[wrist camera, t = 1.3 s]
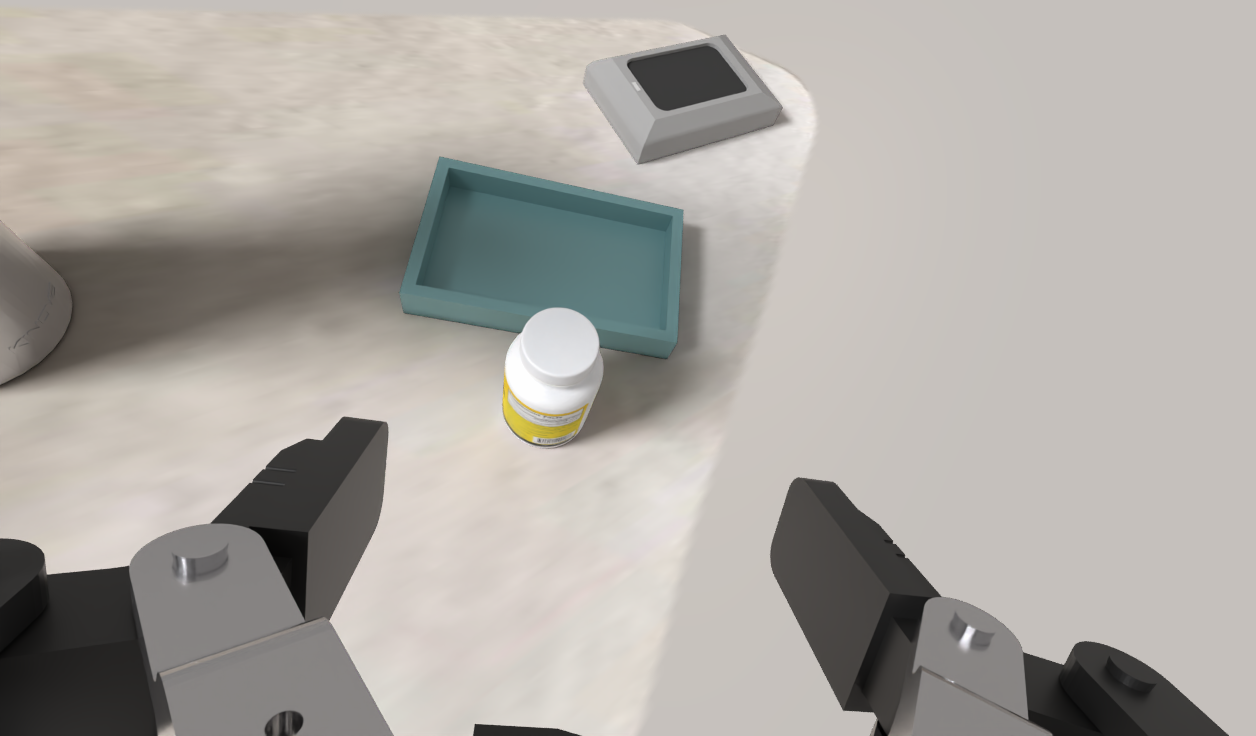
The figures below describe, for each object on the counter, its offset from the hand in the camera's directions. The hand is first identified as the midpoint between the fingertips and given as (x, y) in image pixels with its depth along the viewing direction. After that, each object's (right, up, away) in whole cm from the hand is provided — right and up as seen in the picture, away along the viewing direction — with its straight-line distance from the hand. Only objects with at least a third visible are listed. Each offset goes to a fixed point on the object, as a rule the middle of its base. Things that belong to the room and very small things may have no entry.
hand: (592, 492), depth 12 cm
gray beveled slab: (+5, +26, +43) cm, 50 cm away
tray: (-5, +10, +32) cm, 33 cm away
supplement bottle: (-5, 0, +27) cm, 28 cm away
